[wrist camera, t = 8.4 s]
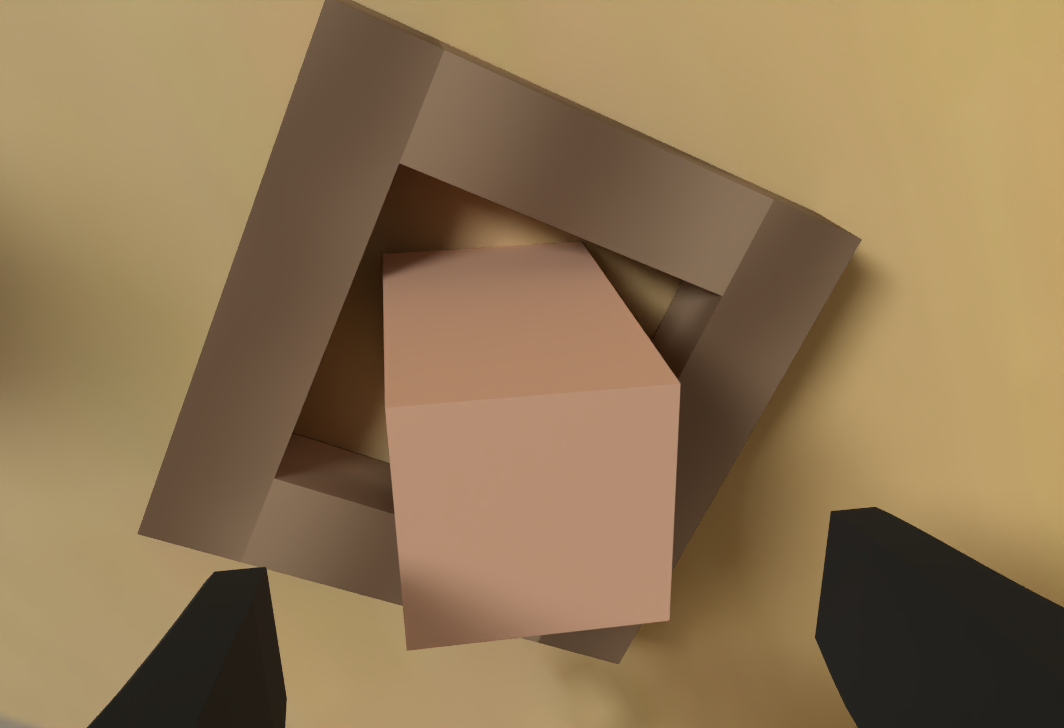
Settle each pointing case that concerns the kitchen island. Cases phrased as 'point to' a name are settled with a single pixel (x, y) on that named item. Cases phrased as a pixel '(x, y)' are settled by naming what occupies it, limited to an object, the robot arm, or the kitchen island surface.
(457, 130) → the socket block
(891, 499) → the kitchen island surface
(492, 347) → the peg
